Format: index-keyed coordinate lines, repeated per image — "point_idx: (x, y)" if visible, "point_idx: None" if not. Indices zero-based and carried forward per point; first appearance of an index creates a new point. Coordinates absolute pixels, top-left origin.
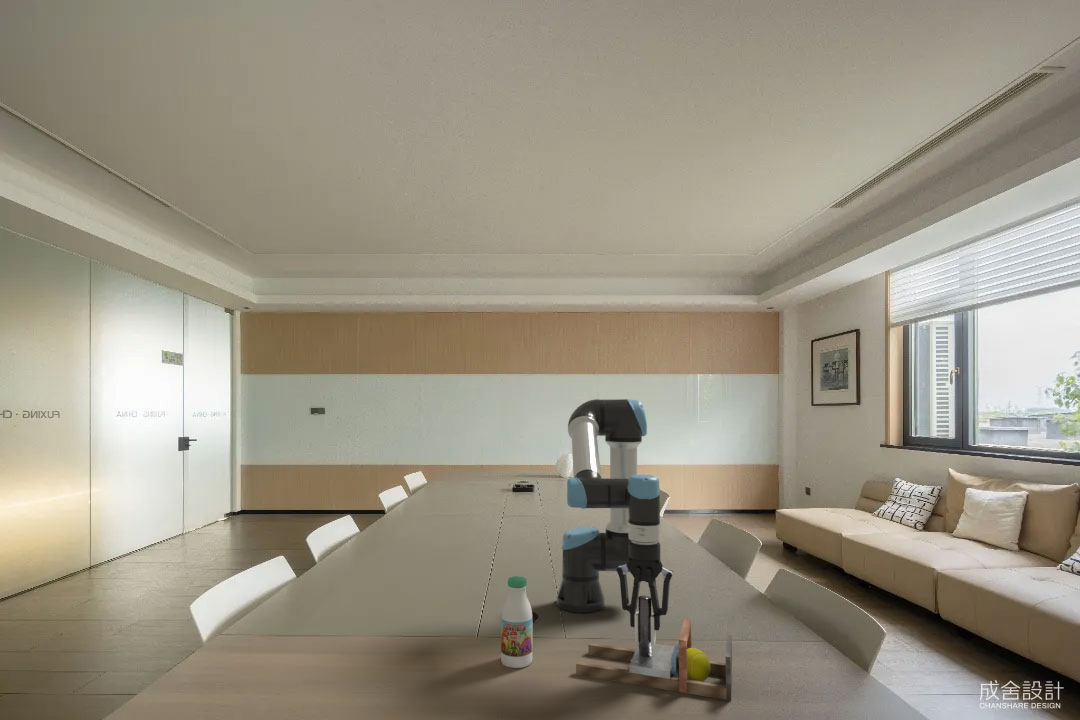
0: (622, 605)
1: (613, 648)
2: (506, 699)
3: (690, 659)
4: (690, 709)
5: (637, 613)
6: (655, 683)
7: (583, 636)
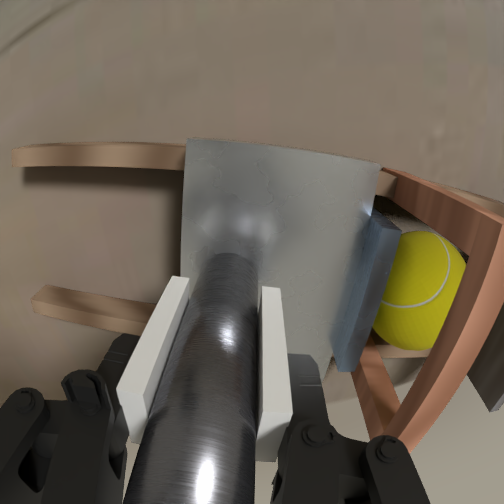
0: (34, 453)
1: (87, 165)
2: (16, 388)
3: (408, 349)
4: (350, 393)
5: (142, 427)
6: None
7: (8, 34)
